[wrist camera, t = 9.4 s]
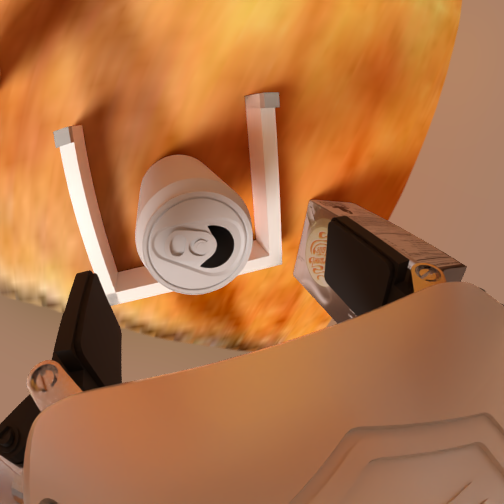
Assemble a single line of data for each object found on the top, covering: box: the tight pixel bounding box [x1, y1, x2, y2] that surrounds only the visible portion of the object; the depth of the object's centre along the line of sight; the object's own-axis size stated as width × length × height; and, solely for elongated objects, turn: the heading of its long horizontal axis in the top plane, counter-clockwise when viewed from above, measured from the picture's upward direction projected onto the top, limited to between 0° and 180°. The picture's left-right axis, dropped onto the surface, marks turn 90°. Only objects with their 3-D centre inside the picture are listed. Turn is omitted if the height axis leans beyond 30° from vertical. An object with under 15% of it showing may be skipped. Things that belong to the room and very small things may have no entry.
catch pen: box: [53, 92, 282, 306], centre depth 22 cm, size 16×15×4 cm
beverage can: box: [135, 155, 253, 295], centre depth 19 cm, size 6×6×12 cm
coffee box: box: [293, 200, 467, 324], centre depth 25 cm, size 9×6×16 cm
